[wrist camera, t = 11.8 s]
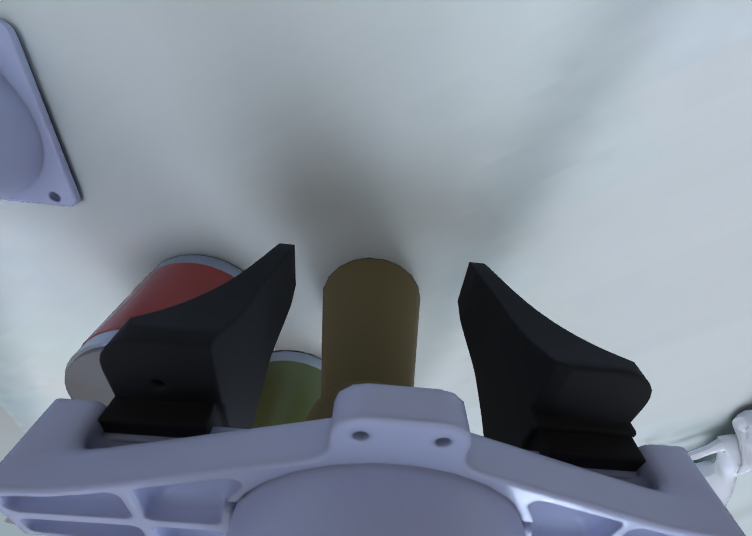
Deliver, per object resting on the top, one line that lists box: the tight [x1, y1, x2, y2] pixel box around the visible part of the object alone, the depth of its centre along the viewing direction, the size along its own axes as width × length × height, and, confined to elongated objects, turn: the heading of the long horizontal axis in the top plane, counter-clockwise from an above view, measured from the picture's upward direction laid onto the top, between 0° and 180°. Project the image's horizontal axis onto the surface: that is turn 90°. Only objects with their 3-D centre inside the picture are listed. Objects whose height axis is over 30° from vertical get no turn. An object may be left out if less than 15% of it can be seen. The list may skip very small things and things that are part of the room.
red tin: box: [65, 255, 243, 406], centre depth 20 cm, size 8×8×7 cm
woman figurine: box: [687, 409, 752, 507], centre depth 31 cm, size 12×4×18 cm
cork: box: [305, 258, 420, 421], centre depth 18 cm, size 6×6×11 cm
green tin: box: [253, 351, 322, 428], centre depth 24 cm, size 8×8×7 cm
